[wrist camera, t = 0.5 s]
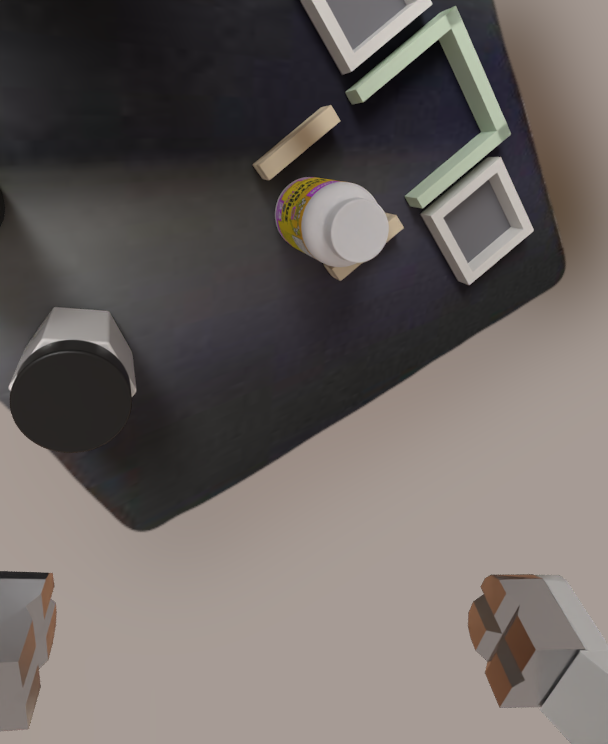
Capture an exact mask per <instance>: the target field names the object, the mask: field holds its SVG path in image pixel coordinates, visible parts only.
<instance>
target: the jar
mask: <svg viewBox="0 0 608 744" xmlns="http://www.w3.org/2000/svg"><path fill="white" fill-rule="evenodd" d="M9 390H10V391H11V392H10V409H11V414H12V417H13V419H14V421H15V423H16V425H17V426H18V428H19V429H20V430H21V432H22V433H23V434H24V435H25V436H26V437H27V438H29V439H30V440H31V441H33V442H34V443H36V444H37V445H39V446H41V447H44V448H46V449H49V450H53V451H57V452H64V453H78V452H85V451H89V450H92V449H95V448H98V447H100V446H102V445H104V444H106V443H107V442H109V441H110V440H112V439H113V438H114V437H115V436H116V435H117V434H118V433H119V432H120V431H121V430H122V429H123V427H124V426H125V424H126V422H127V420H128V418H129V415H130V412H131V407H132V397H133V396H134V394H135V393H136V391H137V390H136V381H135V372H134V363H133V354H132V351H131V349H130V348H129V346H128V344H127V342H126V340H125V339H124V337H123V335H122V333H121V332H120V330H119V328H118V326H117V324H116V323H115V321H114V319H113V317H112V315H111V314H110V312H109V311H102V310H89V309H75V308H61V307H54V308H53V309H52V310H51V311H50V313H49V314H48V316H47V317H46V319H45V320H44V321H43V323H42V324H41V326H40V327H39V329H38V330H37V331H36V333H35V334H34V336H33V337H32V339H31V340H30V342H29V343H28V344H27V346H26V347H25V350H24V352H23V354H22V357H21V359H20V361H19V364H18V366H17V368H16V371H15V373H14V375H13V378H12V380H11V382H10V384H9Z"/></svg>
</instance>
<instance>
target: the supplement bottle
mask: <svg viewBox="0 0 608 744" xmlns="http://www.w3.org/2000/svg"><path fill="white" fill-rule="evenodd" d="M275 221H276V226H277V229H278V231H279V233H280V235H281V236H282V237H283V239H284V240H285V241H286V242H287V243H289V244H290V245H291V246H293V247H294V248H296V249H298V250H300V251H301V252H303V253H305V254H307V255H309V256H311V257H313V258H314V259H316V260H318V261H320V262H322V263H324V264H326V265H329V266H333V267H347V266H351V265H354V264H356V263H362V262H366V261H369V260H371V259H372V258H374V257H375V256H376V255H378V254H379V253H380V251H381V250H382V249H383V247H384V245H385V243H386V241H387V238H388V232H389V224H388V220H387V216H386V214H385V212H384V210H383V209H382V208H381V207H380V206H379V205H378V204H377V202H376V200H375V199H374V197H373V196H372V195H371V194H370V193H369V192H368V191H367V190H366V189H364V188H363V187H361V186H359V185H357V184H354V183H350V182H344V181H336V180H330V179H323V178H317V177H304V178H300V179H297V180H295V181H293V182H292V183H290V184H289V185H288V186H287V187H286V188H285V189H284V190H283V191H282V193H281V194H280V196H279V198H278V200H277V203H276V208H275Z"/></svg>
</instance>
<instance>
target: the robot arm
mask: <svg viewBox="0 0 608 744" xmlns="http://www.w3.org/2000/svg"><path fill="white" fill-rule="evenodd" d="M53 588H54V580H53V573H39V572H38V573H37V572H8V571H0V731H12V730H24V729H29V726H30V723H31V719H32V715H33V712H34V709H35V705H36V702H37V698H38V695H39V691H40V688H41V685H40V676H39V669H40V668H41V667H42V666H43V665H44V664H45V663H46V662H47V661H48V659H49V655H50V652H51V648H52V644H53V638H54V632H55V627H56V613H57V612H56V603H55V602H54V601H53V600H52V599H51V596H52V592H53ZM481 589H482V591H483V593H484V594H483V595H482V596H480V597H479V598H477V599H476V600H475V601H473V603H472V606H471V608H470V610H469V613H468V628H469V633H470V637H471V640H472V643H473V645H474V648H475V650H476V651H477V652H478V653H479V654H480V655H481V656H482V657H483V658H484V659H485V660H487V666H486V670H485V674H486V677H487V679H488V681H489V684H490V686H491V688H492V691H493V693H494V696H495V698H496V700H497V703H498V705H499V707H500V708H512V707H513V708H516V707H541V708H540V710H541V712H542V713H543V714H545V716H546V717H547V718H548V719H549V720H550V721H551V722H552V723H553V724H554V725H555V727H556V728H557V729H558V730H559V731H560V732H561V733H562V734H563V735H564V736H565V737H566V739H567V740H568V741H569V742H570V743H571V744H608V644H607V642H606V641H605V639H604V638H603V636H602V634H601V633H600V631H599V630H598V628H597V627H596V625H595V624H594V622H593V621H592V619H591V618H590V616H589V615H588V613H587V611H586V610H585V608H584V607H583V605H582V604H581V602H580V600H579V599H578V598H577V596H576V594H575V593H574V591H573V590H572V588H571V587H570V585H569V584H568V582H567V581H566V580H565V579H564V578H563V577H562V576H560V575H533V574H520V575H519V574H517V575H490V576H488V577H486V578H485V579H484V581H483V583H482V585H481Z"/></svg>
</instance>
